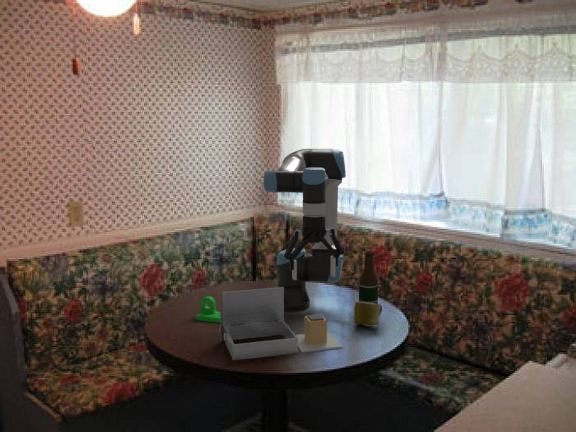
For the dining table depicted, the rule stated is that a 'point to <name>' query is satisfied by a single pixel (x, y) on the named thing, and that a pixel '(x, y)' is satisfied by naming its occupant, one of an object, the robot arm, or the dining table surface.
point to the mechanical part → (208, 311)
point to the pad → (306, 347)
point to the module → (315, 329)
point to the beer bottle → (368, 281)
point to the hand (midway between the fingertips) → (313, 277)
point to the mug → (367, 313)
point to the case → (255, 323)
